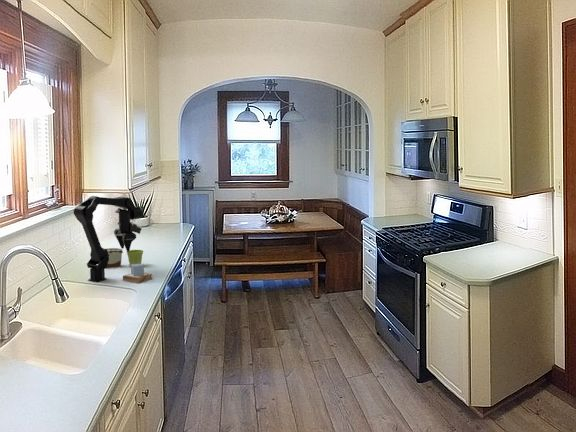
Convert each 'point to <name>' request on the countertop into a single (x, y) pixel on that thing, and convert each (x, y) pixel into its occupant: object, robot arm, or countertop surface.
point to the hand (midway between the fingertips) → (125, 249)
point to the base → (137, 278)
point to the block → (137, 269)
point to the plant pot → (134, 256)
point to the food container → (114, 257)
